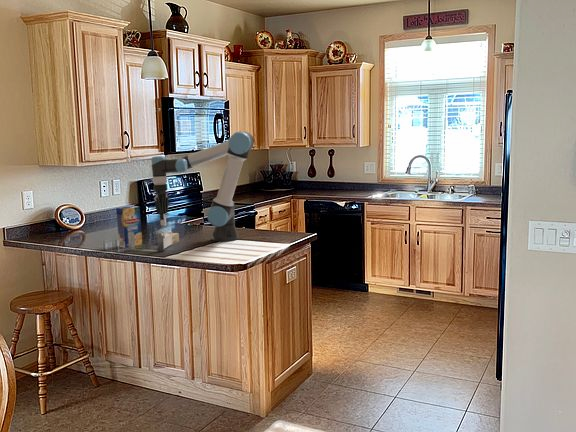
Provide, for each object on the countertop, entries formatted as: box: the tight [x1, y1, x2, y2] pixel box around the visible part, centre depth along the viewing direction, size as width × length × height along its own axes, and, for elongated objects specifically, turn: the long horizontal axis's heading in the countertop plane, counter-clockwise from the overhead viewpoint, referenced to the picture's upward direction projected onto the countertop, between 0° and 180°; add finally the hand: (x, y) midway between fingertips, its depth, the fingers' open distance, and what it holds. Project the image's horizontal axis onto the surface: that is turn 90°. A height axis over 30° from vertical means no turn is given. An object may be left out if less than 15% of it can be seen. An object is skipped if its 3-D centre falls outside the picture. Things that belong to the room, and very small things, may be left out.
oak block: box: [163, 232, 180, 244], centre depth 338 cm, size 8×8×5 cm
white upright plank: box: [163, 231, 174, 250], centre depth 322 cm, size 15×2×7 cm, turn 174°
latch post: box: [128, 232, 136, 252], centre depth 319 cm, size 2×3×10 cm, turn 159°
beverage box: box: [115, 205, 143, 249], centre depth 330 cm, size 7×11×22 cm, turn 138°
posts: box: [133, 232, 165, 253], centre depth 315 cm, size 19×3×10 cm, turn 69°
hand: (163, 225), depth 331 cm, fingers closed
